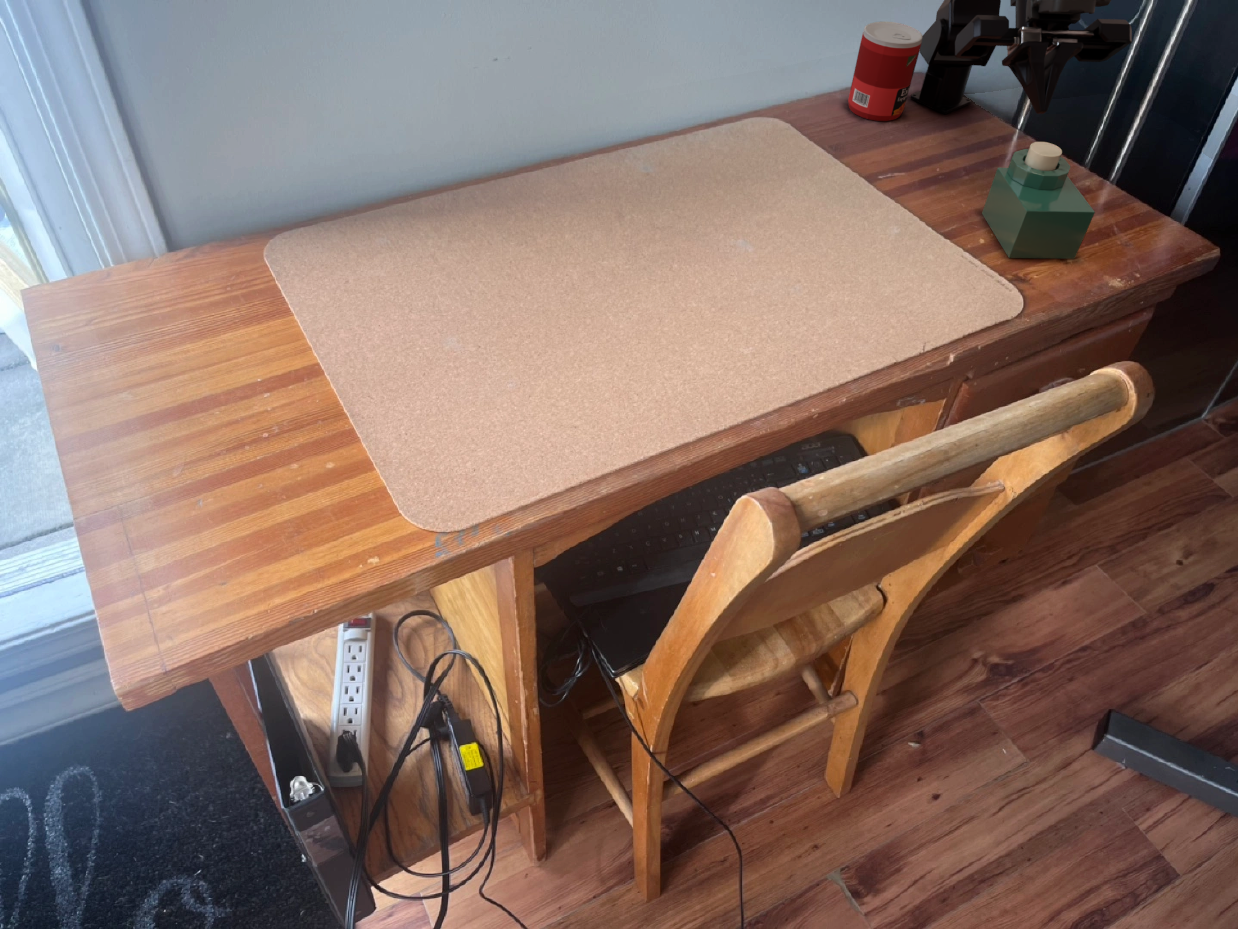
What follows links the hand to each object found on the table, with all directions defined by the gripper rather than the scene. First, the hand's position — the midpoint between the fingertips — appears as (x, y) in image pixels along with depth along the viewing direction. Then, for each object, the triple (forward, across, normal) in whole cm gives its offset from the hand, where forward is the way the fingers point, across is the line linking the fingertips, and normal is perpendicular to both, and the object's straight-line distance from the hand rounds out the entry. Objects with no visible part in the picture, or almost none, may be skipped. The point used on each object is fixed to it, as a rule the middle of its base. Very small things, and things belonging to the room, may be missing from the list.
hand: (1041, 112), depth 114 cm
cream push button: (+6, 0, +1) cm, 6 cm away
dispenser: (+13, 0, +4) cm, 14 cm away
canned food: (-10, -10, +28) cm, 31 cm away
